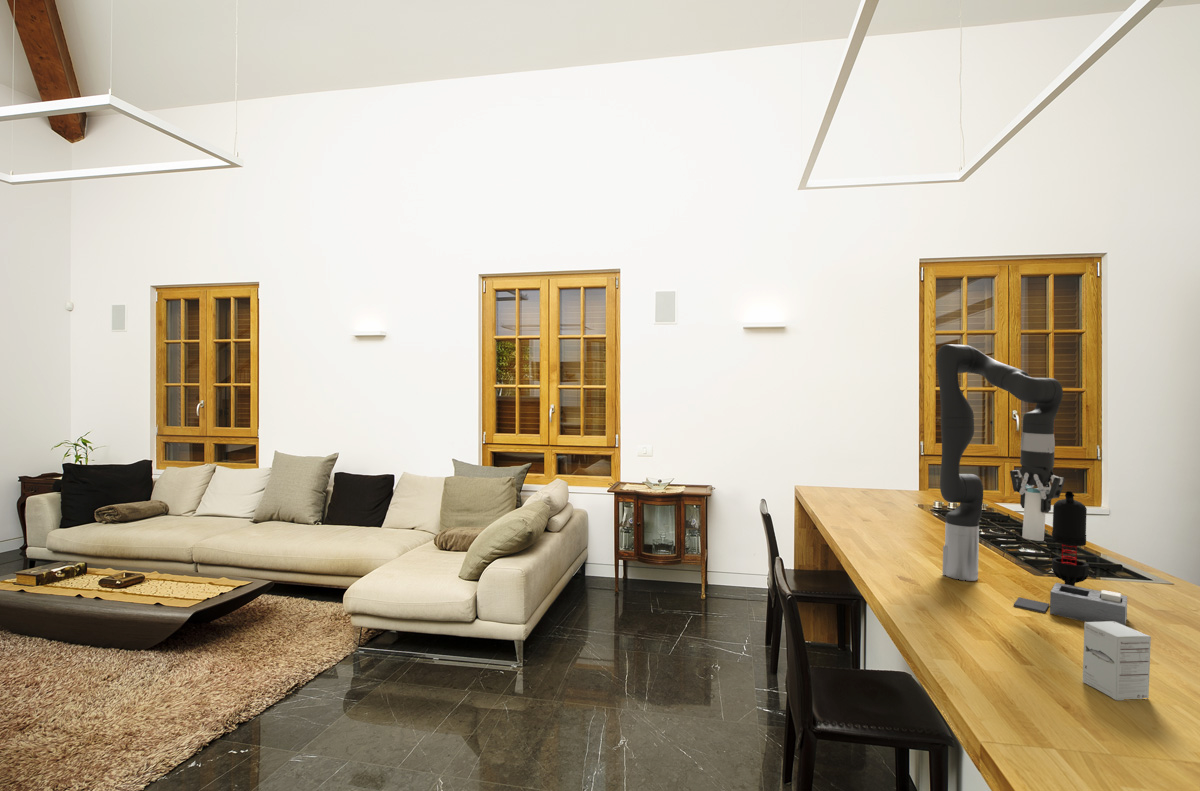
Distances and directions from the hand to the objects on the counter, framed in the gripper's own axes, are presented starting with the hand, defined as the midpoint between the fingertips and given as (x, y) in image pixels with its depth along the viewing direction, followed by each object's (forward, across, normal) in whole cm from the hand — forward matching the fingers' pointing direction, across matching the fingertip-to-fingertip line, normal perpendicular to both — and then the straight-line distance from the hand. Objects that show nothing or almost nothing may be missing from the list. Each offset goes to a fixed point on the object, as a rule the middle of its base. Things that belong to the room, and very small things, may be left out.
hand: (1035, 510), depth 162 cm
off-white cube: (+24, +14, +9) cm, 29 cm away
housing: (+27, +10, +7) cm, 29 cm away
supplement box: (+26, +40, -31) cm, 57 cm away
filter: (+27, -10, +30) cm, 42 cm away
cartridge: (+8, 0, 0) cm, 8 cm away
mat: (+27, 0, 0) cm, 27 cm away
